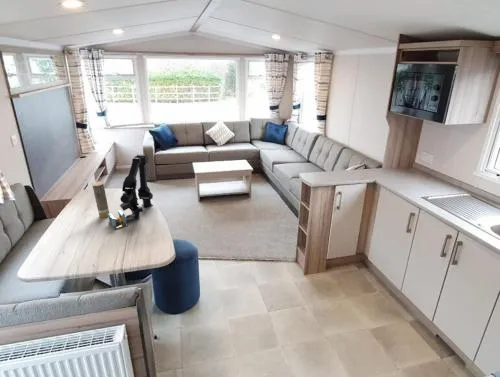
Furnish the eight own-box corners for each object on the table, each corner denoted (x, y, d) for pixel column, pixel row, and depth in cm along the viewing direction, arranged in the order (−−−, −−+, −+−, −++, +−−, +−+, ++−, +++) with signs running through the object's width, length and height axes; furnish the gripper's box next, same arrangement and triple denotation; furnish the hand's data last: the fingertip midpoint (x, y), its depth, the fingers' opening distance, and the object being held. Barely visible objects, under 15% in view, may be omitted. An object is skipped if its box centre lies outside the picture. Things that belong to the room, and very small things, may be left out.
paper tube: (111, 213, 223) (105, 181, 213) (106, 218, 216) (99, 185, 206) (102, 213, 223) (95, 181, 213) (97, 218, 217) (90, 185, 207)
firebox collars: (108, 221, 212) (106, 212, 209) (121, 218, 216) (119, 208, 213) (115, 230, 202) (113, 220, 199) (127, 226, 206) (125, 216, 203)
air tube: (113, 227, 205) (112, 221, 203) (111, 224, 208) (110, 218, 207) (140, 218, 215) (139, 213, 214) (138, 216, 218) (137, 211, 217)
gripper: (115, 195, 211) (119, 215, 217) (124, 205, 198) (128, 226, 204) (132, 191, 218) (135, 211, 224) (141, 200, 204) (145, 221, 210)
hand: (135, 217), depth 215 cm, fingers closed on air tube, 4 cm apart
